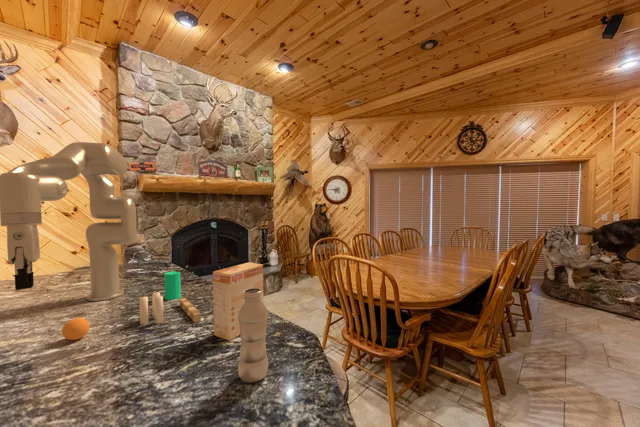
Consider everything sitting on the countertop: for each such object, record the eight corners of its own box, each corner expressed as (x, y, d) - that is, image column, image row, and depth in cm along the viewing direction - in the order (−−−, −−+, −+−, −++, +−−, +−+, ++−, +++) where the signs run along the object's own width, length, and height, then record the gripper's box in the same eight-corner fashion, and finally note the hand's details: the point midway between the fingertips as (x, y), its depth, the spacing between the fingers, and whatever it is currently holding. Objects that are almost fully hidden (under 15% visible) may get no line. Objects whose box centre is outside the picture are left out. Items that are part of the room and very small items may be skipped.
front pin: (139, 322, 93) (138, 297, 93) (147, 320, 95) (147, 296, 94) (140, 325, 91) (139, 299, 91) (149, 323, 93) (148, 297, 92)
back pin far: (152, 317, 98) (151, 293, 97) (160, 315, 99) (159, 291, 99) (153, 319, 96) (152, 295, 95) (161, 317, 97) (160, 293, 97)
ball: (63, 338, 83) (62, 318, 82) (89, 332, 86) (89, 313, 86) (61, 346, 78) (60, 325, 78) (89, 339, 82) (88, 319, 82)
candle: (174, 300, 115) (173, 271, 114) (161, 299, 116) (160, 270, 115) (183, 295, 121) (183, 267, 120) (171, 294, 122) (171, 267, 121)
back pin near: (154, 322, 94) (154, 296, 93) (162, 320, 95) (162, 295, 95) (155, 324, 92) (155, 298, 92) (164, 322, 93) (163, 297, 93)
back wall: (179, 305, 109) (179, 299, 109) (185, 304, 110) (185, 297, 110) (194, 322, 93) (194, 314, 93) (200, 320, 95) (200, 313, 95)
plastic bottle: (241, 370, 66) (239, 286, 66) (270, 368, 67) (269, 285, 66) (235, 388, 60) (233, 295, 59) (267, 386, 61) (266, 294, 60)
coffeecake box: (249, 317, 97) (248, 261, 96) (264, 322, 93) (264, 264, 93) (212, 335, 84) (211, 270, 83) (229, 341, 81) (228, 274, 80)
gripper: (37, 220, 71) (40, 292, 72) (45, 218, 83) (47, 279, 84) (-8, 221, 66) (-4, 298, 67) (7, 219, 78) (10, 284, 79)
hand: (24, 287), depth 75 cm, fingers closed
